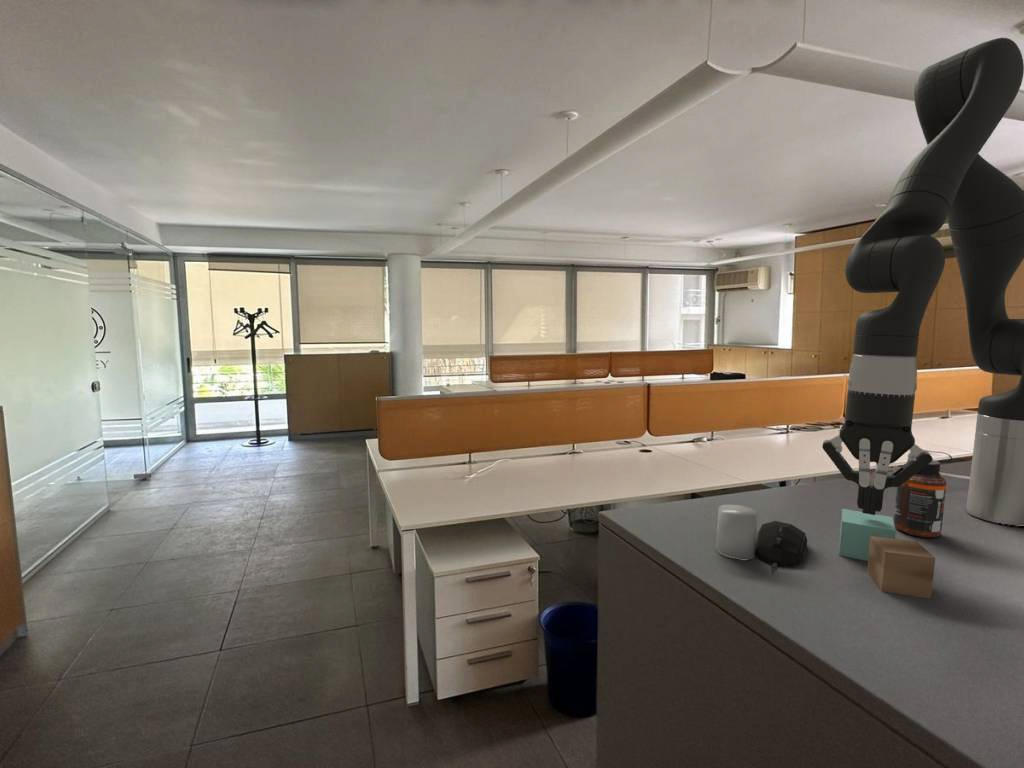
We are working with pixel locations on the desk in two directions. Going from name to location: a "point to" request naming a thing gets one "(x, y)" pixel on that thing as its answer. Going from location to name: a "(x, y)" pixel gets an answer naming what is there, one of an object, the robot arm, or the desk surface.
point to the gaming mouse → (780, 544)
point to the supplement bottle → (921, 503)
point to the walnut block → (901, 566)
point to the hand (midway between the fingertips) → (868, 512)
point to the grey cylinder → (737, 531)
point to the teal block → (862, 532)
